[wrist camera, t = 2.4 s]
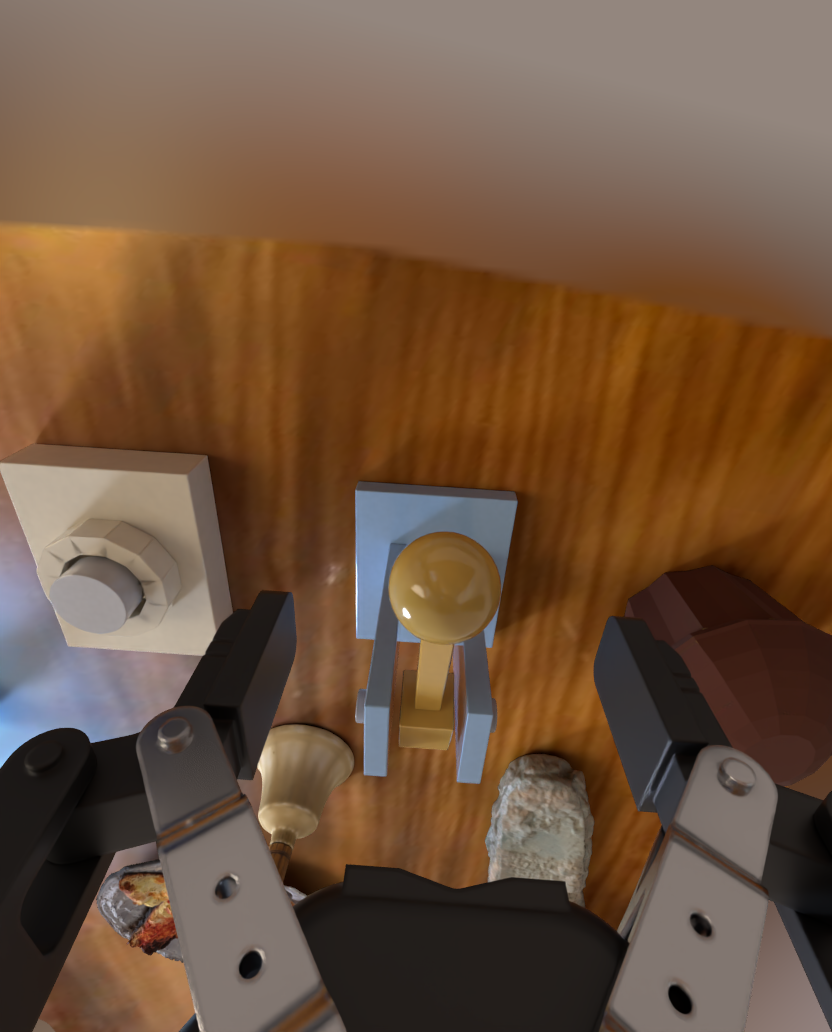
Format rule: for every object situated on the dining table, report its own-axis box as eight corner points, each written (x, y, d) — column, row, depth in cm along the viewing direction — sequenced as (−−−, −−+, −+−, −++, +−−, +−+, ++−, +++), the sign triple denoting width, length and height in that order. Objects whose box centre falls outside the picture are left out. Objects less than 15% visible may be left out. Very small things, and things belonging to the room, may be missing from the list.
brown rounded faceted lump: (770, 672, 35) (879, 819, 26) (605, 693, 37) (656, 838, 28) (789, 528, 29) (937, 655, 21) (593, 561, 31) (654, 691, 22)
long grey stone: (603, 732, 40) (478, 730, 42) (620, 794, 36) (478, 789, 37) (580, 954, 56) (489, 948, 57) (590, 1018, 51) (491, 1009, 53)
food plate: (100, 921, 58) (81, 959, 55) (117, 816, 47) (94, 857, 44) (308, 965, 62) (301, 1004, 59) (369, 878, 51) (364, 919, 48)
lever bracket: (358, 480, 29) (307, 638, 18) (515, 491, 29) (563, 655, 18) (358, 626, 34) (319, 816, 23) (490, 635, 34) (515, 830, 23)
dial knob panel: (32, 442, 29) (-33, 477, 25) (207, 454, 28) (171, 490, 25) (92, 618, 35) (49, 667, 31) (236, 628, 35) (210, 679, 31)
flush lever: (393, 504, 14) (381, 603, 12) (506, 512, 14) (514, 612, 12) (392, 684, 24) (386, 755, 22) (459, 689, 24) (459, 761, 22)
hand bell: (322, 798, 44) (269, 1056, 31) (237, 760, 42) (138, 1020, 28) (374, 751, 41) (340, 1019, 27) (283, 707, 39) (197, 975, 25)
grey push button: (61, 553, 27) (38, 572, 26) (134, 558, 27) (116, 577, 26) (81, 610, 29) (61, 631, 28) (150, 615, 29) (134, 636, 28)
